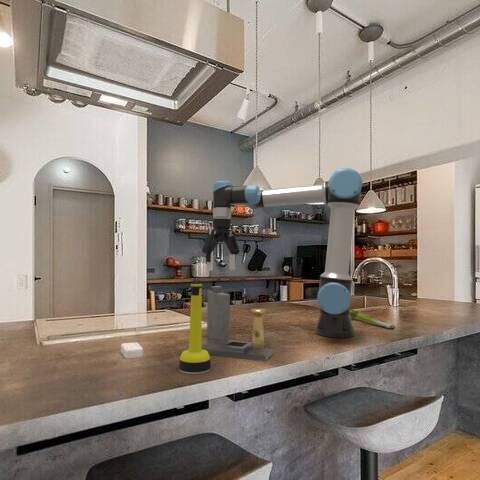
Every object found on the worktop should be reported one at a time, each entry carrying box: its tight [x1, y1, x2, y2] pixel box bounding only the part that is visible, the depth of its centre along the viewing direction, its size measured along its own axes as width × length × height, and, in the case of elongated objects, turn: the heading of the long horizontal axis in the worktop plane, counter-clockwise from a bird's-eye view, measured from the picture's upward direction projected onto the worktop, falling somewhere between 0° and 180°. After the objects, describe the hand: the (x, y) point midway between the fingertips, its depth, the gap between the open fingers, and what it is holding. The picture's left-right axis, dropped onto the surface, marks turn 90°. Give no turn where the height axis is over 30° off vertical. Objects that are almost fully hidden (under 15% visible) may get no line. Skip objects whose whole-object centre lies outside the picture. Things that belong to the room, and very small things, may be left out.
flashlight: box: [178, 278, 212, 375], centre depth 100 cm, size 25×9×9 cm
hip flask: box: [206, 285, 231, 340], centre depth 134 cm, size 16×4×20 cm, turn 28°
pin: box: [250, 308, 267, 348], centre depth 123 cm, size 5×5×13 cm
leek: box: [349, 307, 396, 330], centre depth 172 cm, size 6×7×30 cm
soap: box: [120, 342, 144, 360], centre depth 113 cm, size 9×6×3 cm, turn 27°
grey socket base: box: [202, 338, 274, 362], centre depth 115 cm, size 22×9×3 cm, turn 69°
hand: (221, 270), depth 147 cm, fingers open, 13 cm apart
